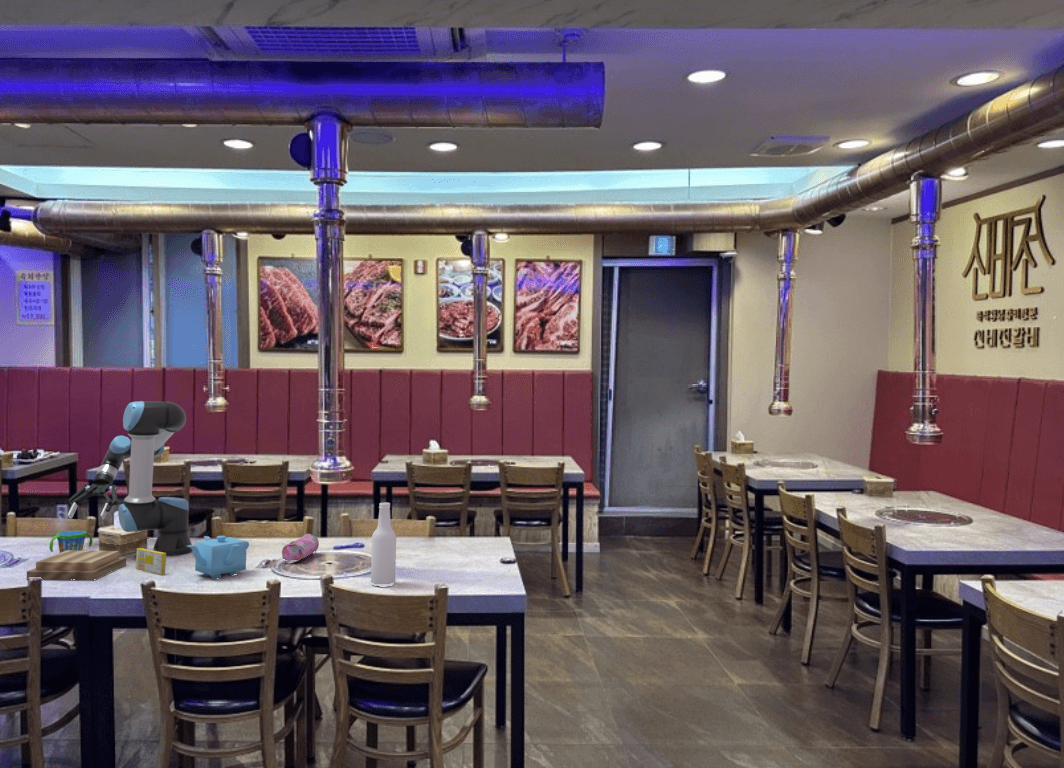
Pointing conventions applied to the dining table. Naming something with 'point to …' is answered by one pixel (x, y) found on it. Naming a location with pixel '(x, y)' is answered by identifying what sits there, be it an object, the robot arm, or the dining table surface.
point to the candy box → (151, 561)
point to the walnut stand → (77, 565)
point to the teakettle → (220, 556)
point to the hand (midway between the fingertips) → (85, 517)
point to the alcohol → (383, 549)
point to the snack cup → (70, 540)
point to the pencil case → (300, 547)
